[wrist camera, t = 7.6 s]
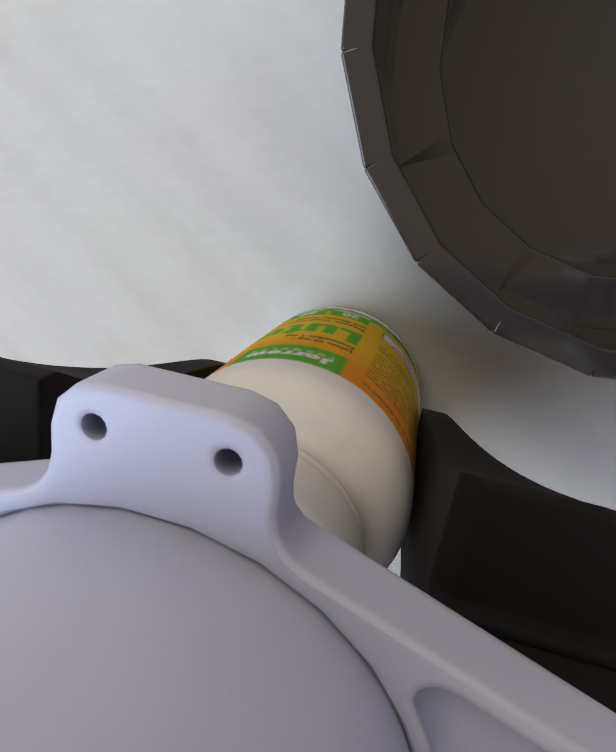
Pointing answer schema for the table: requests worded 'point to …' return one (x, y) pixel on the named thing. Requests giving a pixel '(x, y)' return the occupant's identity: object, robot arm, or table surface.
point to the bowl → (498, 158)
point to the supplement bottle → (343, 420)
